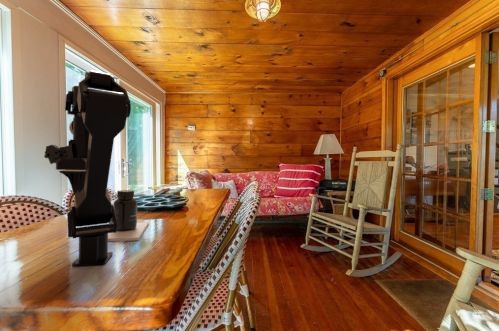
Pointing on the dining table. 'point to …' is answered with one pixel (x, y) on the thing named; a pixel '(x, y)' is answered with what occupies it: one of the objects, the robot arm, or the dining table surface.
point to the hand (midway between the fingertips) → (85, 195)
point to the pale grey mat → (129, 233)
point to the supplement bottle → (125, 210)
